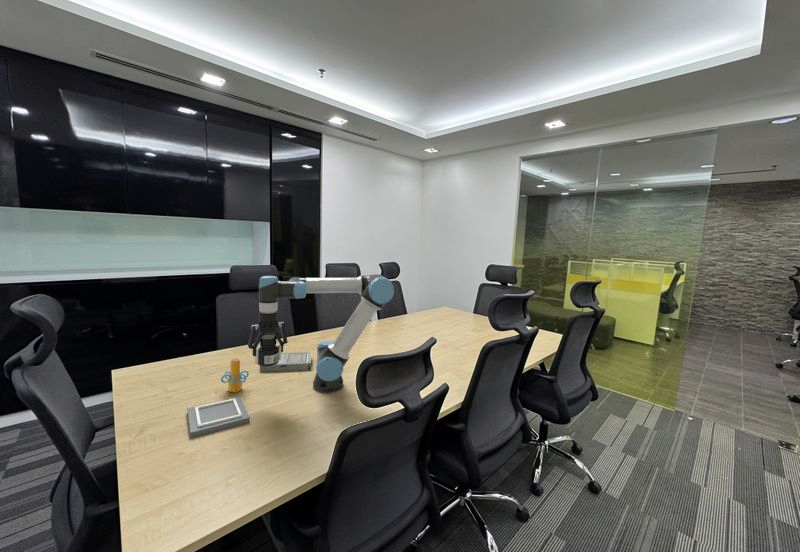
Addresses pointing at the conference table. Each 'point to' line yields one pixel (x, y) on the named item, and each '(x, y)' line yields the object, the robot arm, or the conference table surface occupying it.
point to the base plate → (217, 416)
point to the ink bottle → (268, 351)
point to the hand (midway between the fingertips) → (268, 360)
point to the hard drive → (290, 362)
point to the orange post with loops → (235, 376)
